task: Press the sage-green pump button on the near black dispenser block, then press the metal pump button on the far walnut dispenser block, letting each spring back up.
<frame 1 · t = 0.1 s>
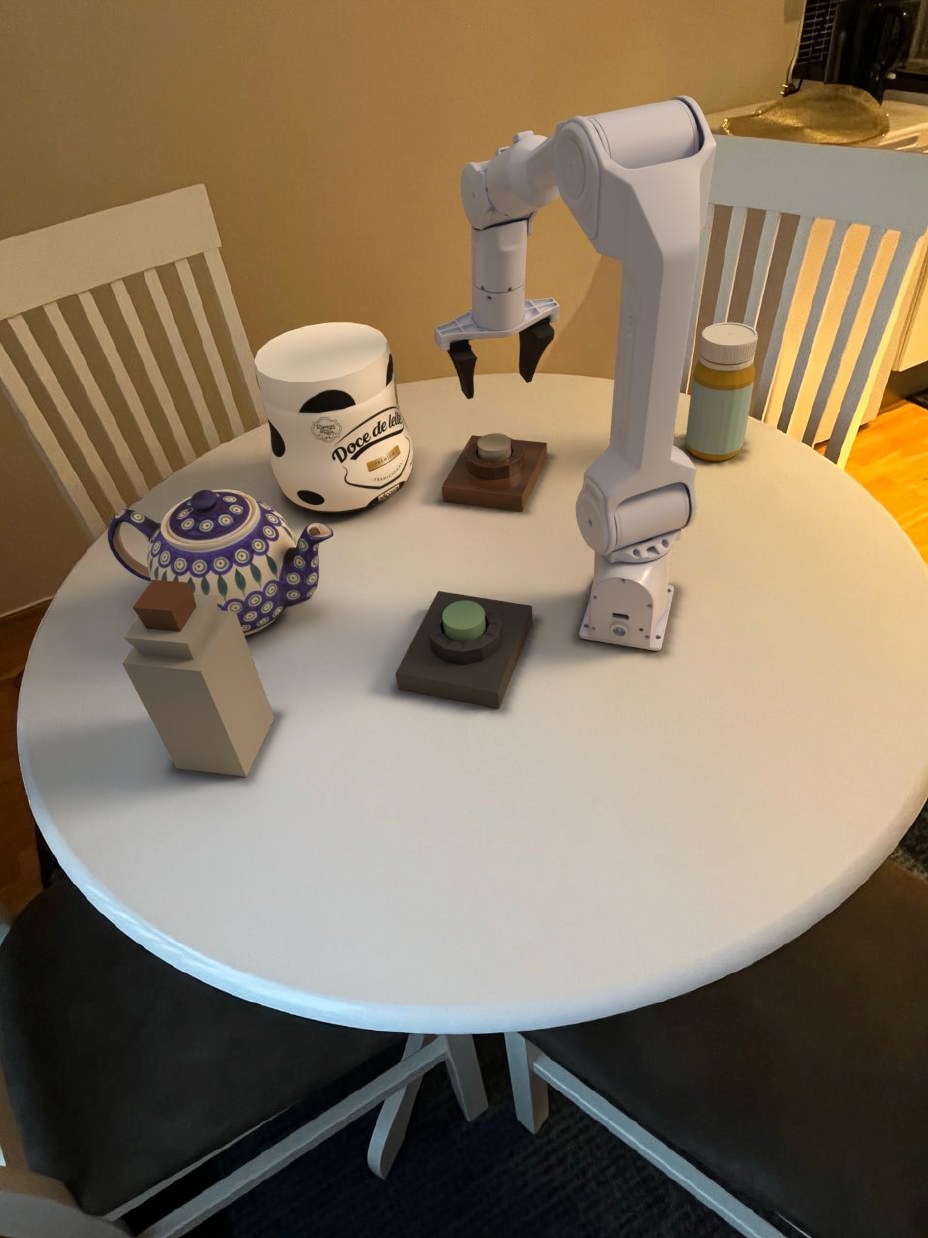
hand: (496, 385, 99), 11 cm above the table, tool pointing down, fingers open, 7 cm apart
perfume bottle: (227, 743, 76), on the table
milk container: (349, 486, 105), on the table
dispenser front: (467, 654, 82), on the table
pump front: (464, 621, 79), point 4 cm above the table, slide at 0.1 cm
pump back: (494, 448, 101), point 4 cm above the table, slide at 0.1 cm
teapot: (242, 608, 90), on the table
bottle: (713, 449, 105), on the table
dispenser back: (496, 479, 104), on the table
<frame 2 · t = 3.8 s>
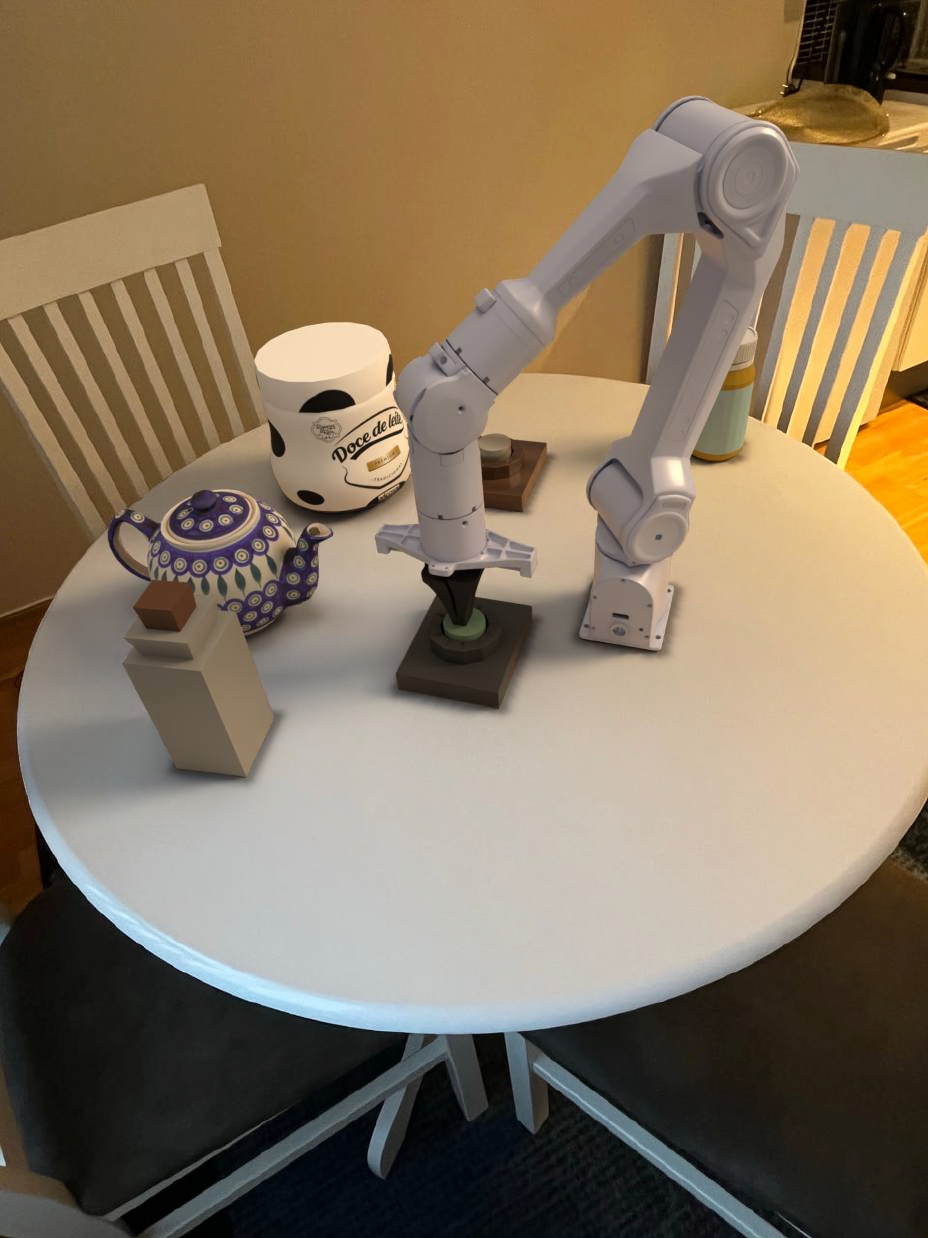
hand: (462, 618, 79), 4 cm above the table, tool pointing down, fingers closed, pressing on pump front
pump front: (464, 627, 79), point 4 cm above the table, slide at -0.8 cm, touching gripper
everything else where it was.
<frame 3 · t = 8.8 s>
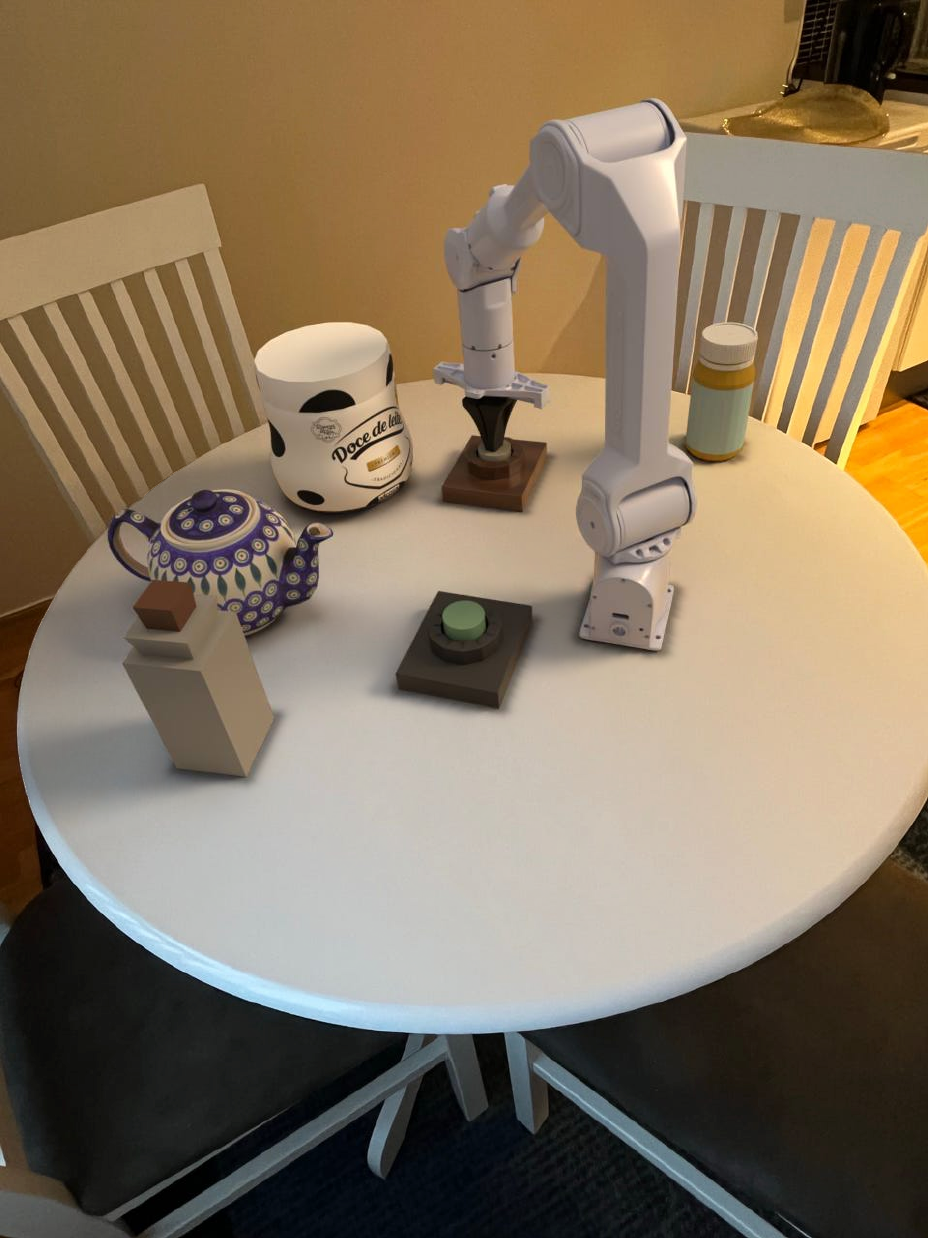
hand: (494, 447, 101), 5 cm above the table, tool pointing down, fingers closed, pressing on pump back
pump front: (464, 621, 79), point 4 cm above the table, slide at 0.1 cm
pump back: (494, 453, 101), point 4 cm above the table, slide at -0.7 cm, touching gripper
everything else where it was.
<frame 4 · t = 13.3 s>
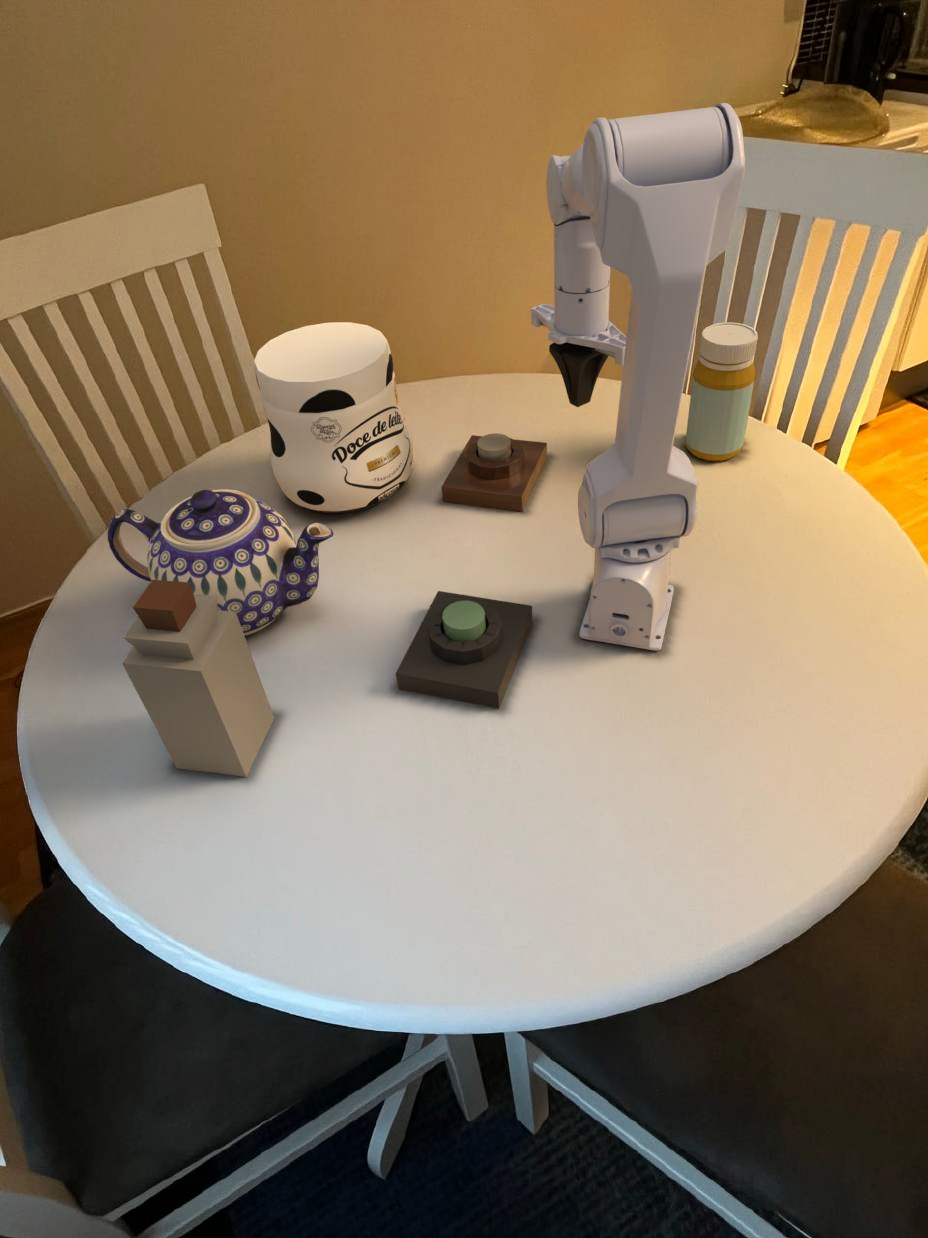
hand: (580, 402, 95), 10 cm above the table, tool pointing down, fingers closed
pump back: (494, 448, 101), point 4 cm above the table, slide at 0.1 cm
everything else where it was.
at the end: pump front pushed in 1.2 cm at the most during the clip, back to where it started at the end; pump back pushed in 1.2 cm at the most during the clip, back to where it started at the end; pump back slide at 0.1 cm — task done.
